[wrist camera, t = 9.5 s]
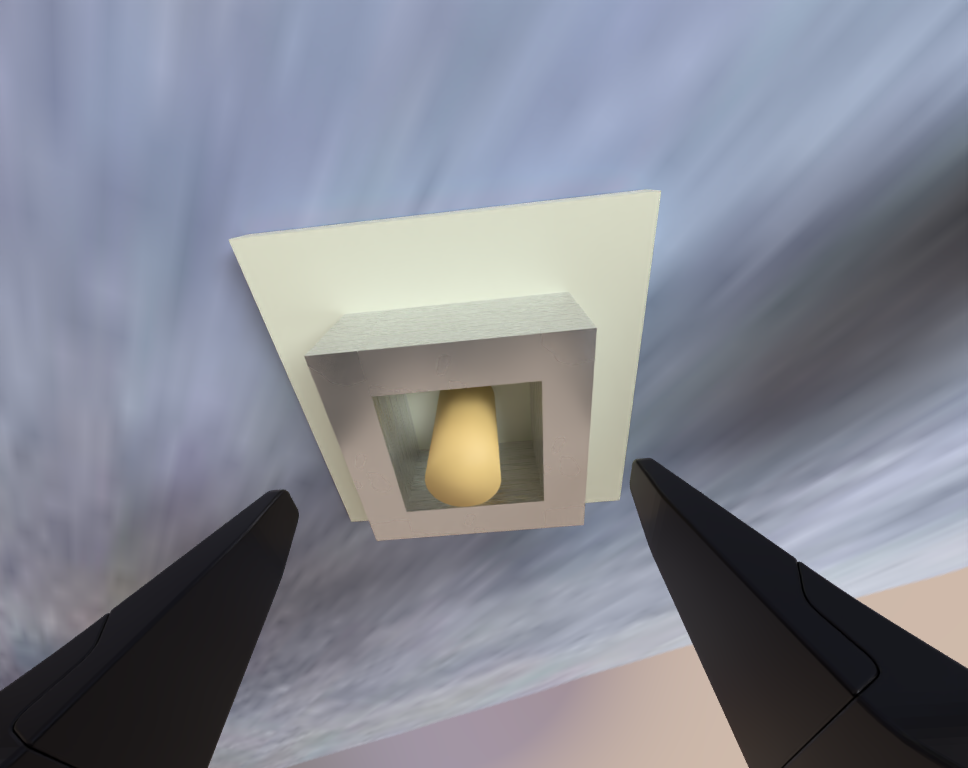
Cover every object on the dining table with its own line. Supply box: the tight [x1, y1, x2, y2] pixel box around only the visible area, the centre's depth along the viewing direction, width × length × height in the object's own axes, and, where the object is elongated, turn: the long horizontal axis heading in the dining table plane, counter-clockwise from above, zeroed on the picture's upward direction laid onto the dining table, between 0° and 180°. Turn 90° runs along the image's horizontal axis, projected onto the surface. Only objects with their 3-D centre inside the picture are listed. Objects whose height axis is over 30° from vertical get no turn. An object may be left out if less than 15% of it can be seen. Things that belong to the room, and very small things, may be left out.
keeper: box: [229, 190, 661, 522], centre depth 11 cm, size 12×12×5 cm
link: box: [304, 292, 597, 541], centre depth 11 cm, size 7×7×3 cm
